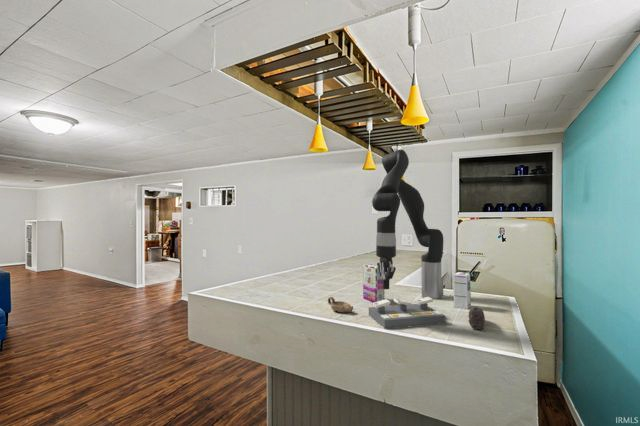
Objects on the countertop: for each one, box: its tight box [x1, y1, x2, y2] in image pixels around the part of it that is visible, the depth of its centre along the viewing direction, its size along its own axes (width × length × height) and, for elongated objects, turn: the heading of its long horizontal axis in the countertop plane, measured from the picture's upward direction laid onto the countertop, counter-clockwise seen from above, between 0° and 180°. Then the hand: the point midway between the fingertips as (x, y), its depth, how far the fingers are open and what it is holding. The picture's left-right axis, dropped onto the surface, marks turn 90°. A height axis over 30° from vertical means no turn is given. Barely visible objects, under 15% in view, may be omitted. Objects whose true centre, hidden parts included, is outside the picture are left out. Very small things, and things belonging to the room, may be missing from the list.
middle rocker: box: [393, 298, 413, 306], centre depth 126 cm, size 6×4×1 cm, turn 102°
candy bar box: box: [362, 263, 385, 303], centre depth 151 cm, size 11×5×16 cm, turn 25°
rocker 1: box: [372, 298, 391, 308], centre depth 124 cm, size 6×4×1 cm, turn 102°
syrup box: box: [452, 271, 472, 310], centre depth 140 cm, size 6×6×14 cm
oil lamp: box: [327, 296, 354, 313], centre depth 135 cm, size 13×8×5 cm, turn 42°
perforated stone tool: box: [468, 305, 486, 330], centre depth 117 cm, size 15×5×7 cm, turn 154°
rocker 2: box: [414, 297, 434, 305], centre depth 128 cm, size 6×4×1 cm, turn 102°
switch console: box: [368, 303, 446, 329], centre depth 124 cm, size 24×16×5 cm, turn 102°
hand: (385, 288), depth 125 cm, fingers closed
